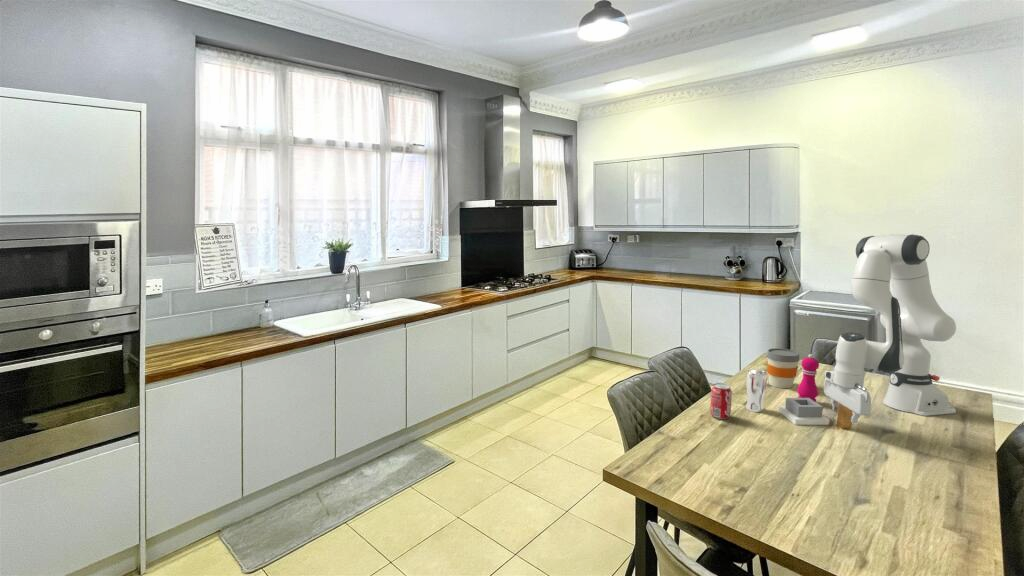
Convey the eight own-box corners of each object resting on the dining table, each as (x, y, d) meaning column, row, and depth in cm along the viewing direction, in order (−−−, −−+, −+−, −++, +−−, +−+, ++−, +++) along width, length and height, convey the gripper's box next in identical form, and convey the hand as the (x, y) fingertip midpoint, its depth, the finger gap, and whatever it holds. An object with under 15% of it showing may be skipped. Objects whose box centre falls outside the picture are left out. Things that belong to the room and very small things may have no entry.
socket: (809, 411, 187) (810, 396, 186) (829, 424, 175) (830, 408, 174) (777, 411, 187) (779, 396, 186) (795, 424, 176) (796, 408, 175)
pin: (845, 425, 175) (848, 398, 173) (851, 429, 172) (854, 402, 170) (836, 425, 175) (839, 398, 173) (842, 429, 172) (845, 402, 170)
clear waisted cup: (764, 407, 191) (766, 370, 189) (764, 413, 185) (767, 375, 183) (744, 404, 194) (746, 368, 192) (744, 410, 188) (747, 373, 186)
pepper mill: (811, 399, 199) (815, 351, 196) (820, 406, 192) (825, 356, 189) (793, 398, 200) (797, 351, 197) (801, 405, 193) (805, 356, 190)
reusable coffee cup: (789, 380, 221) (791, 348, 219) (802, 390, 209) (805, 356, 207) (760, 379, 222) (762, 347, 220) (771, 389, 210) (774, 355, 208)
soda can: (729, 414, 185) (731, 383, 183) (731, 421, 179) (733, 390, 177) (709, 411, 187) (711, 381, 186) (710, 418, 181) (712, 387, 179)
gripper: (878, 390, 160) (874, 429, 162) (839, 370, 180) (835, 405, 183) (859, 390, 160) (855, 429, 163) (821, 370, 181) (818, 405, 183)
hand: (844, 416), depth 173 cm, fingers open, 8 cm apart
